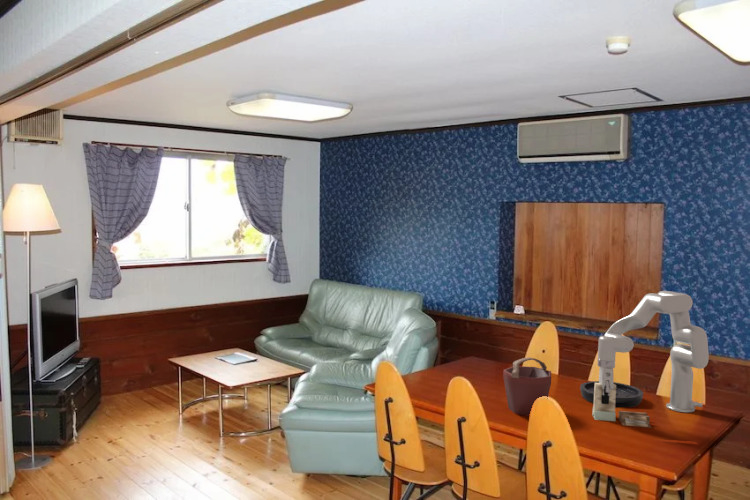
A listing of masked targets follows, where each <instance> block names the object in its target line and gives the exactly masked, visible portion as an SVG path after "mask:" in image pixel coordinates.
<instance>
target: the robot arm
mask: <svg viewBox="0 0 750 500" xmlns="http://www.w3.org/2000/svg"><path fill="white" fill-rule="evenodd" d="M692 306H693V299H692V297H691V296H690V295H689V294H686V293H682V292H678V291H677V292H676V291H669V290H660V291H659V292H657V293H656V292H655V293H652V292H651V293H646V294H645V295H644V296H643V297H642V298H641V300H640V301H639V303H637V305H636V307H635V308H634V309H633V310H632V312H631V313H630V314H629V315H627V316H624V317H622V318H621V319H619V320H617V321H615V322H614V323H613V324H612V325H610V327H609V328H608V329H607V331H606V332H605V333H604V335H601V336H599V337H598V346H597V365H596V366H597V367H599V369H598V370H599V373H598V381H599V383H600V384H601V388H602V389H603V393H602V400H601V403H602V404H609V387H610V388H611V390H613V382H614V369H615V367H616V353H624V354H625V353H629V352H631V351H632V350H633V348H634V345H635V344H634V341H633V339H632V338H631V337H628V336H626V335H623V334H625V333H627V332H629V331H633V330H638V329H642V328H646V326H647V325H648V324H649V322H650V321H651V320H652V319H653V318H654V316H655V315H656V313H660V314H665V315H669V318H670V326H671V327H670V329H671V336H672V339H673V340H674V341H675V342H676V343H677V342H678V344H675V345H673V346H672V347H671V349H670V352H669V356H670V362H671V363H670V364H671V379H670V394H669V395H670V396H669V397H670V398H669V402H668V403H666V405H665V406H666V408H667V409H669V410H672V411H674V412H678V413H694V412H695V411H696V407H699V408H703V407H704V406H703V403H702V402H698V401H693V386H694V385H693V384H694V371H693V369H700V370H701V369H704V368H705V367H707V365H708V363H709V359H710V358H709V357H710V355H709V344H708V343H709V341H708V336H707V332H706V331H705V329H703V328H702V327H700V326H696V325H693V324H692V323H691V319H690V312H689V311H690V310H691V309H692V308H693V307H692ZM604 387H606V388H604ZM604 390H606V391H604Z"/></svg>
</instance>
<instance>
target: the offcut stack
mask: <svg viewBox="0 0 750 500" xmlns="http://www.w3.org/2000/svg"><path fill="white" fill-rule="evenodd" d="M646 421H647V419H646V417H638V416H629V418H625V424H626V425H631V426H630V427H638V426H645V427H644V428H649V427H648V424H647V422H646Z"/></svg>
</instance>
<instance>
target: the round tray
mask: <svg viewBox="0 0 750 500" xmlns="http://www.w3.org/2000/svg"><path fill="white" fill-rule="evenodd" d="M595 383H599V380H595V381H594V380H593V381H586V382H583V383H581V384H580V386H579V387H580V393H581V396H582V398H583V399H584V400H585V399H586V401H587V402H589V403H591V402H592V404H594V386H595ZM613 384H615V385H616V400H615V408H618V407H629V408H635V407H637V406H639V405H641V402H642V400H643V397H644V392H643V391H642V389H640V388H638V387H636V386H633V385H629V384H625V383H621V382H616V381H615V382H614V381H613ZM634 406H635V407H634Z"/></svg>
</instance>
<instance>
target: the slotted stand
mask: <svg viewBox="0 0 750 500" xmlns="http://www.w3.org/2000/svg"><path fill="white" fill-rule="evenodd" d="M616 414H617V412H616V411H615V412H609V411H595V410H594V413H593V412H592V414H591V415H592V417H593V419H594V420H596V421H606V422H607V421H608V422H616V416H617V415H616Z"/></svg>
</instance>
